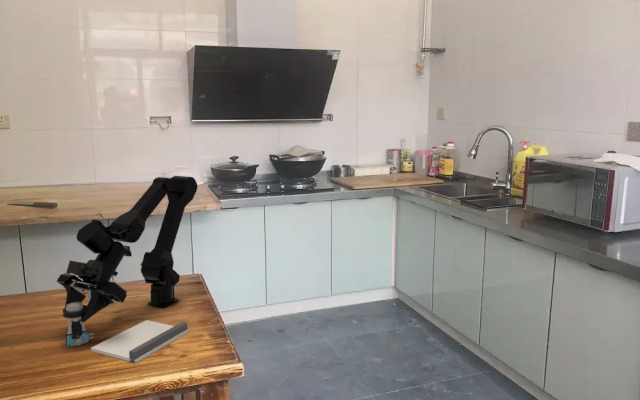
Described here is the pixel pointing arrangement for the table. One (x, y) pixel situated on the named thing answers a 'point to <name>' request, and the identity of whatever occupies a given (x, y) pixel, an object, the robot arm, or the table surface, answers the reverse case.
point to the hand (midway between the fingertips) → (73, 319)
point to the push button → (76, 324)
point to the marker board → (141, 340)
